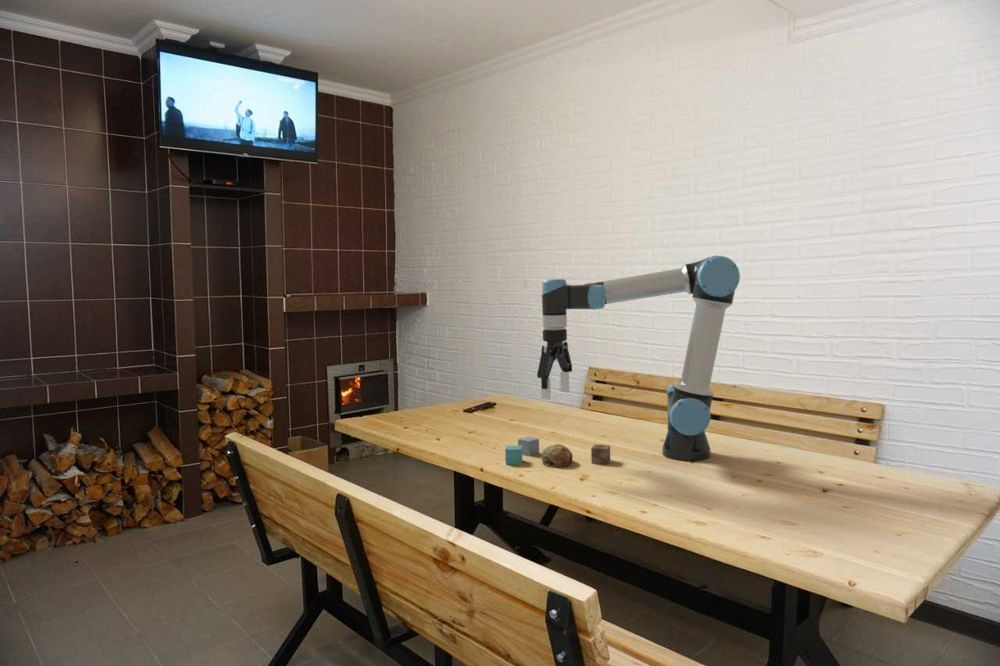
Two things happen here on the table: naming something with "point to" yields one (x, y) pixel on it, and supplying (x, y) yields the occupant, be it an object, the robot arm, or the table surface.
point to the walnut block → (600, 454)
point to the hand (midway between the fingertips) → (555, 395)
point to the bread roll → (557, 456)
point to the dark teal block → (513, 455)
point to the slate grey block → (529, 445)
